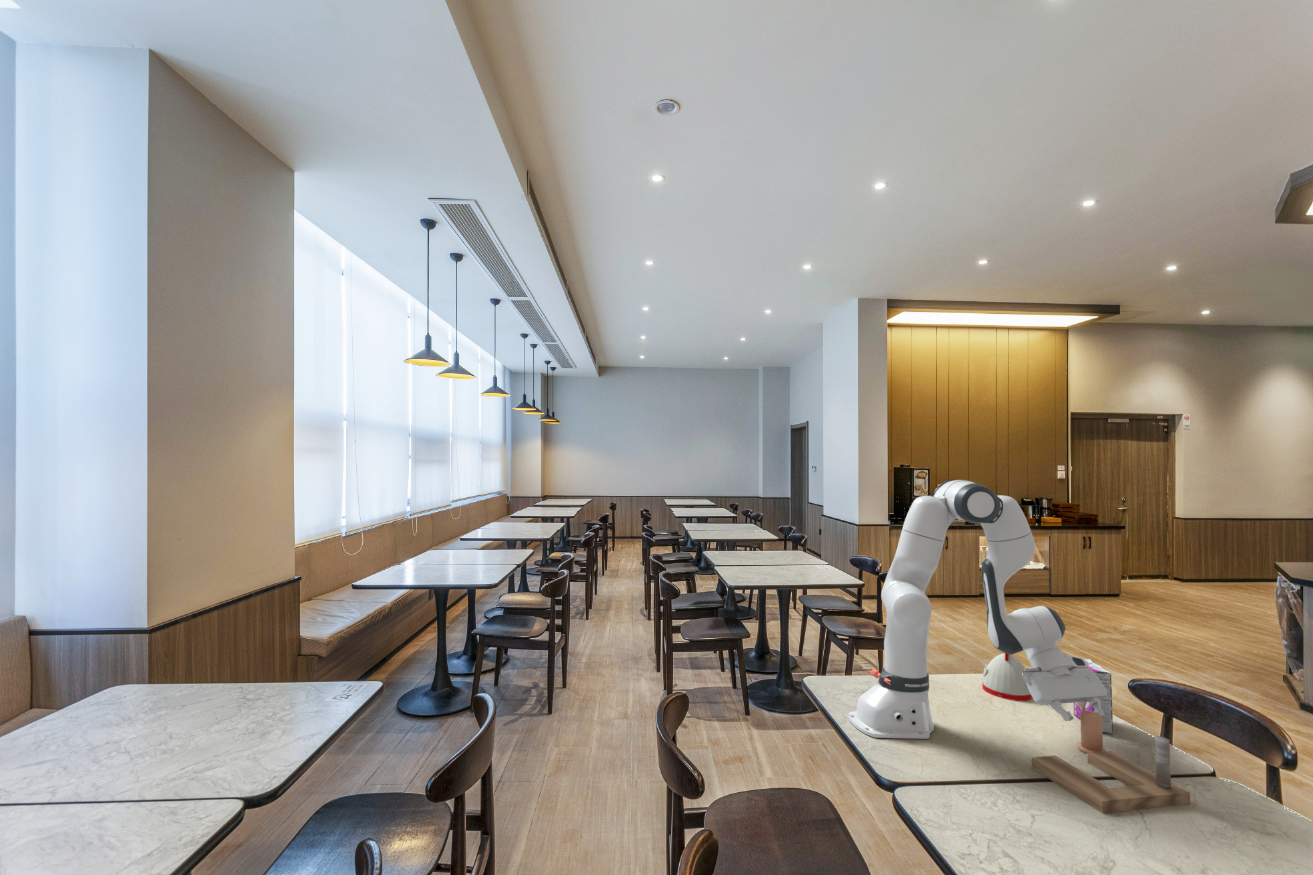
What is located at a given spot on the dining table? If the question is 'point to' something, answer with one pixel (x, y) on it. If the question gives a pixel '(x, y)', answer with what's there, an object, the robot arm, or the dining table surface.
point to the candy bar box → (1105, 703)
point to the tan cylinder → (1091, 733)
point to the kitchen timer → (1006, 678)
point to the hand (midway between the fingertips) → (1085, 718)
